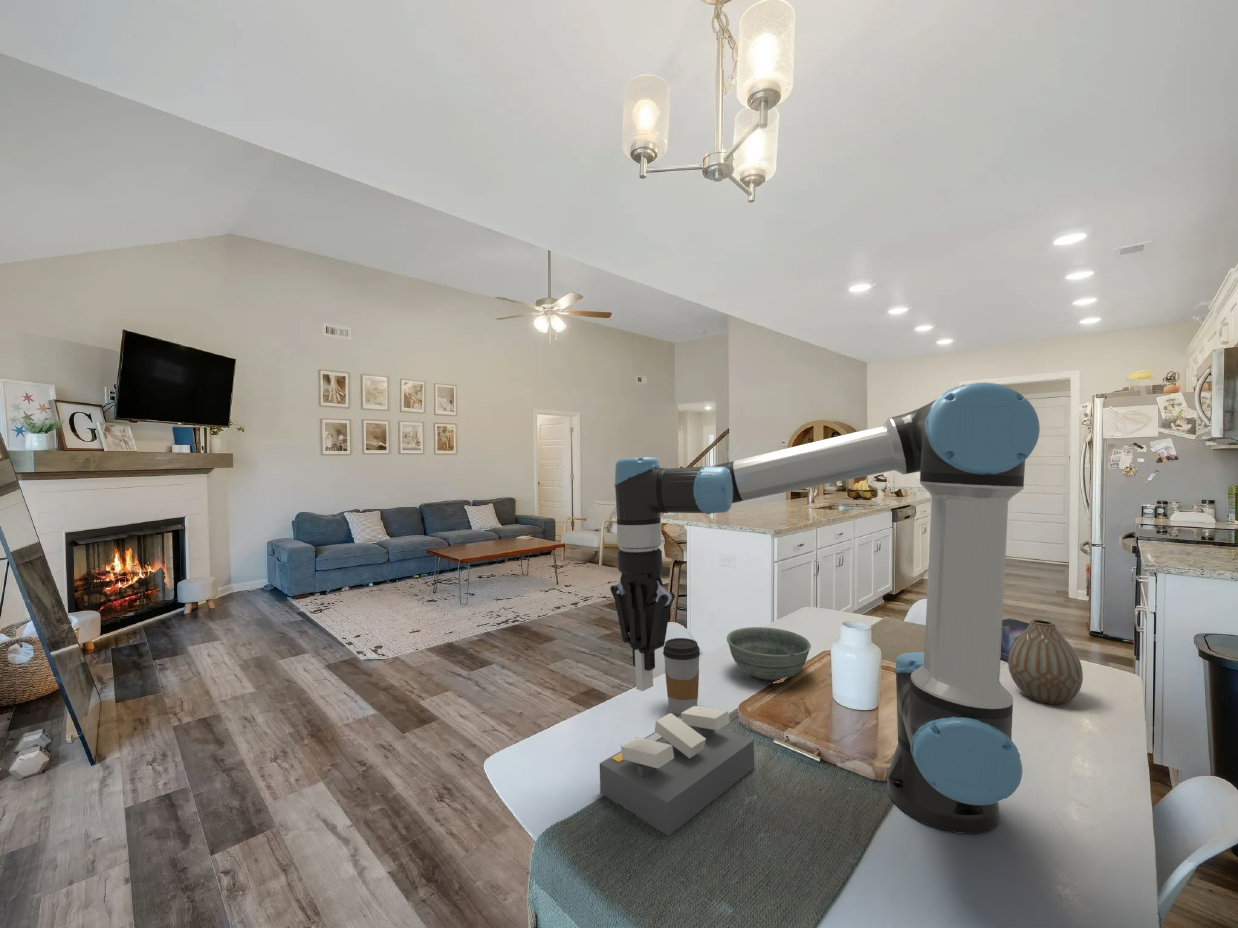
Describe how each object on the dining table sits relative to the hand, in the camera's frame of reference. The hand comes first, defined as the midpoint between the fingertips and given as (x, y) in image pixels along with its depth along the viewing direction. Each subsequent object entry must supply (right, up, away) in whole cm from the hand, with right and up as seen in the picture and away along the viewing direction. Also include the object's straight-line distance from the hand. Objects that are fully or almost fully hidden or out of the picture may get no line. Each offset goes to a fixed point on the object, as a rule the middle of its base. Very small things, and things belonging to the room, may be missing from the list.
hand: (644, 687), depth 88 cm
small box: (+104, -16, +51) cm, 116 cm away
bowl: (+34, -17, +46) cm, 60 cm away
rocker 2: (+6, -10, +3) cm, 12 cm away
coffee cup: (+10, -18, +29) cm, 35 cm away
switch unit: (+6, -17, +3) cm, 19 cm away
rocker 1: (0, -11, -3) cm, 11 cm away
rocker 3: (+12, -10, +8) cm, 18 cm away
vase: (+93, -16, +30) cm, 99 cm away
